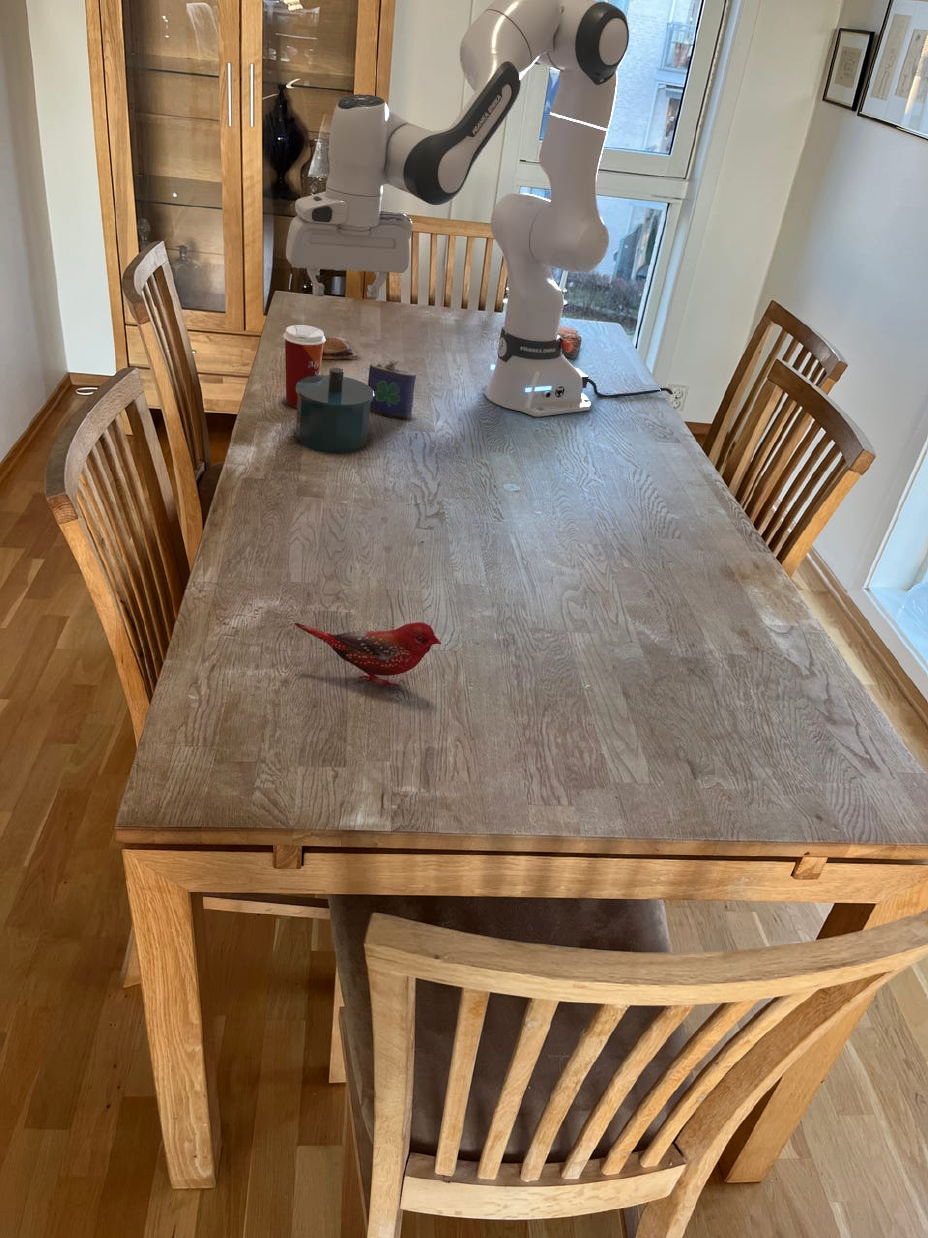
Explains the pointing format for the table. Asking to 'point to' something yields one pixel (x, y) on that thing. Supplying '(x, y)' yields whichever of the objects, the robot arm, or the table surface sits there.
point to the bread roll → (337, 349)
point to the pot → (332, 426)
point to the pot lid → (335, 390)
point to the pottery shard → (570, 340)
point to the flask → (391, 390)
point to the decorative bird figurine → (381, 648)
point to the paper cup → (301, 357)
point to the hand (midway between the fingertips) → (345, 296)
